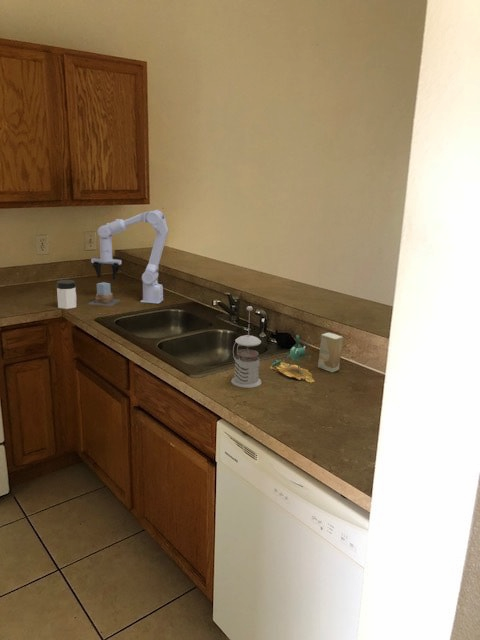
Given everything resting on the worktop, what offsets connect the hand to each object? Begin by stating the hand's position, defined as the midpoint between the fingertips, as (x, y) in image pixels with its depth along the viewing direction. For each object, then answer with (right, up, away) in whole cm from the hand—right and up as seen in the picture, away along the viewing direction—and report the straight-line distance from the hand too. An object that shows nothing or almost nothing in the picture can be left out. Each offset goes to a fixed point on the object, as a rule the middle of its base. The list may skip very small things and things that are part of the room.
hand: (106, 278), depth 256 cm
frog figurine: (+83, -39, -80) cm, 122 cm away
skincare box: (+96, -37, -75) cm, 127 cm away
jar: (-15, -15, -14) cm, 25 cm away
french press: (+66, -40, -87) cm, 117 cm away
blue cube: (0, -8, -6) cm, 10 cm away
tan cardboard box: (0, -12, -4) cm, 12 cm away
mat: (0, -12, -4) cm, 13 cm away
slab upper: (0, -10, -5) cm, 11 cm away
